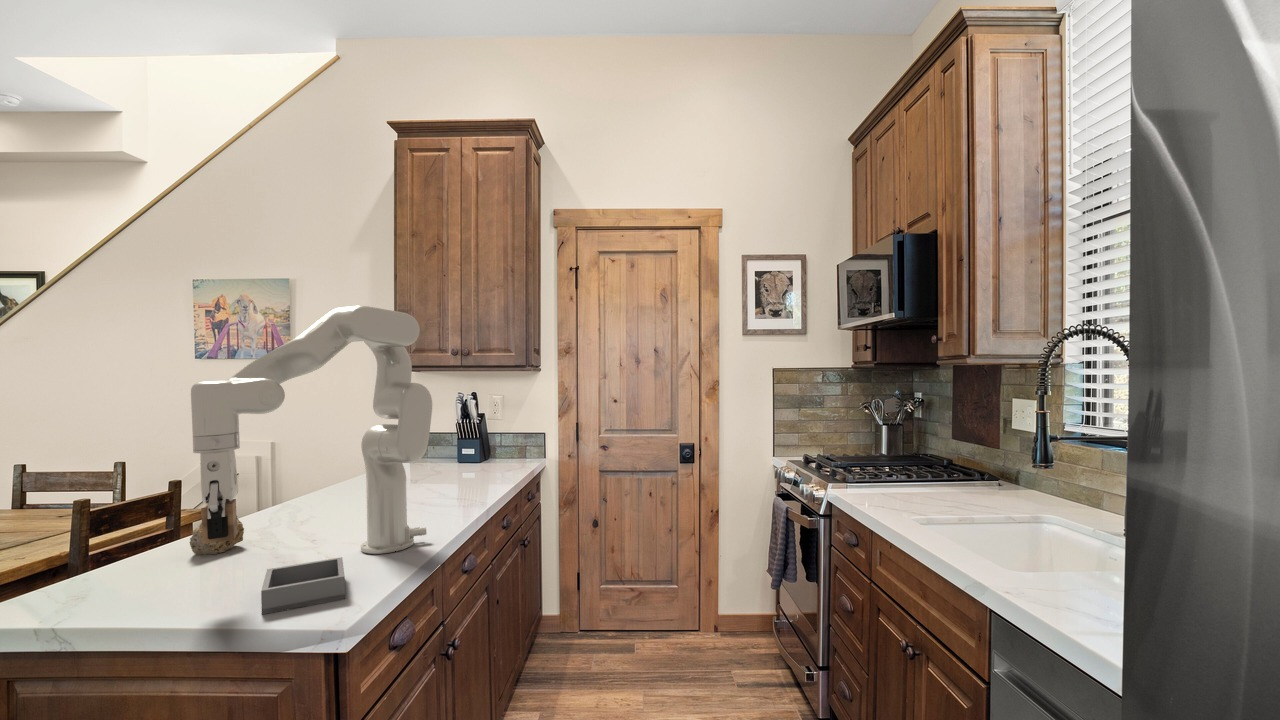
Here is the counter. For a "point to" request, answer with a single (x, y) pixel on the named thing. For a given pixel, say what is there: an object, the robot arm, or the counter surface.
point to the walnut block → (231, 522)
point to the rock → (214, 547)
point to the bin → (303, 585)
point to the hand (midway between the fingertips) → (220, 533)
